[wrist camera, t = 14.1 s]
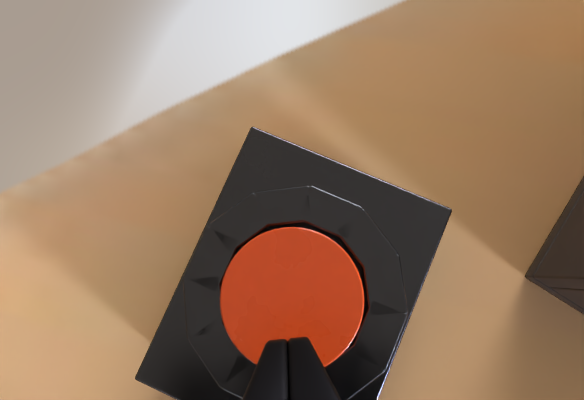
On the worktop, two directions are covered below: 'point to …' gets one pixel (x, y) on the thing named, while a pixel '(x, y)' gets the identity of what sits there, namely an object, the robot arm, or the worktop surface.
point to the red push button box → (311, 215)
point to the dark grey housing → (564, 255)
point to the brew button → (292, 293)
